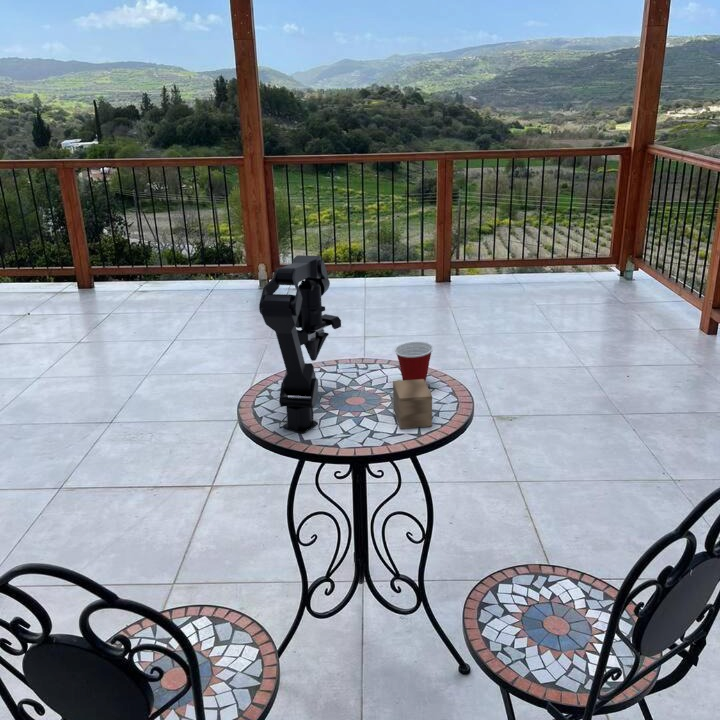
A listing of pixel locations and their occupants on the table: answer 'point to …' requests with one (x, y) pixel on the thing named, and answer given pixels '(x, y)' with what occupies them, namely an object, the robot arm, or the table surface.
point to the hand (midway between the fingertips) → (313, 360)
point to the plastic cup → (414, 359)
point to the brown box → (412, 403)
